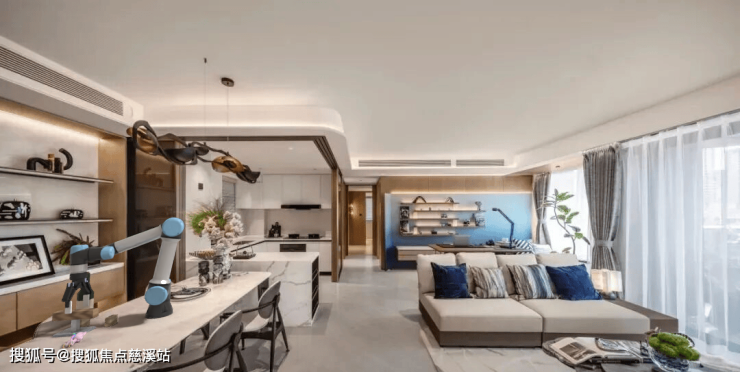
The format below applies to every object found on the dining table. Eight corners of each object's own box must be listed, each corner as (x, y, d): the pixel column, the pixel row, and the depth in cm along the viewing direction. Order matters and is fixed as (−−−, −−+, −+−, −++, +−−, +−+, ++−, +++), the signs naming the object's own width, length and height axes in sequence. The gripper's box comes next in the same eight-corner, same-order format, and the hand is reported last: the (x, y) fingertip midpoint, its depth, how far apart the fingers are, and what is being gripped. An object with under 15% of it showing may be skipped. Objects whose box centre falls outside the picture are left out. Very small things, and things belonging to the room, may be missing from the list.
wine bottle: (82, 321, 195) (85, 273, 198) (71, 321, 197) (74, 272, 200) (96, 317, 204) (98, 270, 206) (86, 316, 205) (88, 270, 208)
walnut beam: (98, 315, 182) (99, 307, 182) (92, 318, 177) (93, 310, 177) (59, 318, 178) (59, 310, 179) (51, 321, 173) (52, 313, 174)
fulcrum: (95, 328, 184) (96, 314, 184) (81, 335, 173) (82, 320, 173) (68, 330, 181) (69, 316, 182) (52, 337, 170) (53, 322, 171)
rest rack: (117, 322, 193) (117, 314, 193) (110, 326, 186) (110, 317, 186) (84, 324, 189) (84, 316, 190) (75, 329, 183) (76, 320, 183)
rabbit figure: (73, 350, 156) (91, 334, 171) (73, 339, 156) (91, 324, 170) (58, 352, 155) (77, 336, 169) (57, 340, 154) (77, 325, 169)
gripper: (86, 268, 191) (85, 303, 190) (53, 276, 167) (51, 317, 165) (100, 267, 193) (99, 302, 191) (69, 275, 168) (68, 316, 167)
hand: (77, 309), depth 178 cm, fingers open, 13 cm apart
